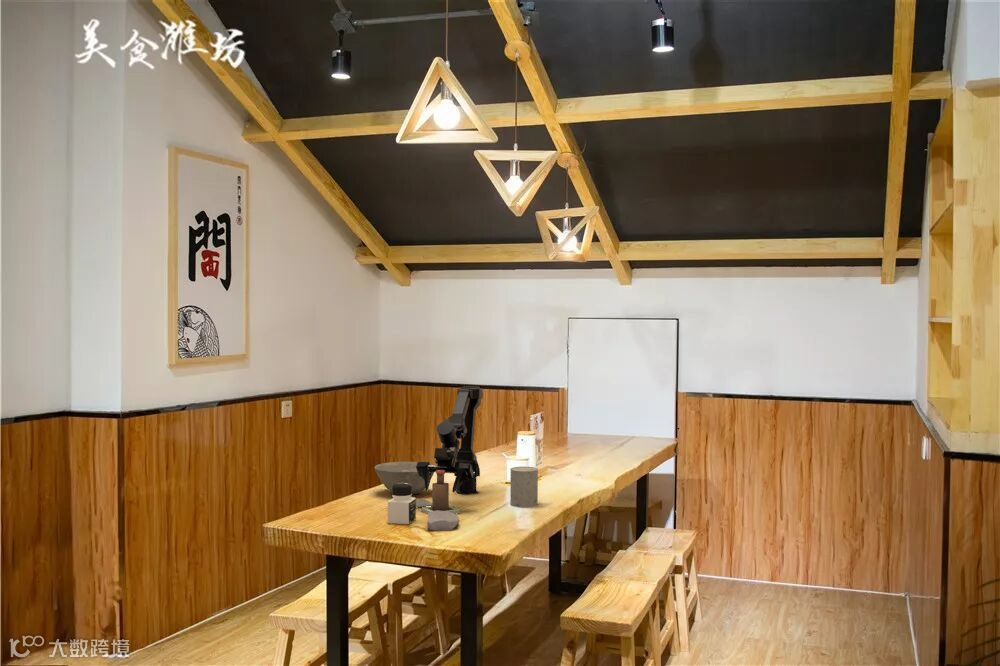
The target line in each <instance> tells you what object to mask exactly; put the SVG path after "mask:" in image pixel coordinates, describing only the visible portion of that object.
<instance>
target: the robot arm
mask: <svg viewBox="0 0 1000 666" xmlns="http://www.w3.org/2000/svg"><path fill="white" fill-rule="evenodd" d="M483 390H484V389H481V387H480V386H477V385H476V386H474V385H473V386H472V385H471V386H470V385H463V386H462V387H460V388H457V396H456V400H455V403H454V408H453V411H452V413H451V415H450V416H449V417H448V418H446V419H445V418H444V419H443V421H441V422H440V423H439V424H438V425H436V432H437V436H438V439H439V441H440V443H442V446H441V447H435V448H434V455H433V458H434V459H435V460H434V461H435V462H434V463H435V465H436V466H430V463H431V462H430V461H422V460H421V461H417V462H418V463H417V465H416V469H417V471H418V474H419V476H420V477H422V478H423V479H424V481H425V489H424V490H425V491H426V492H428V490H429V488H430V483H431V479H432V478H431V477H430V476H431V474H432V472H434V473H436V470H440V469H442V470H445V474H454V475H453V476H454V477H455V480H454V483H453V485H452V490H451V492H452V493H458V492H459V493H458V494H461V493H462V495H469V493H471V494H479V490H477V478H478V477H481V469H480V466H479V462H478V457H477V454H476V453H475V451H474V441H475V440H474V439H475V438H474V437H475V429H476V428H475V427H476V426H475V425H476V412H477V410H478V409H479V407H480V406H481V403H482V399H483V396H484V392H483Z"/></svg>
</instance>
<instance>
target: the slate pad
mask: <svg viewBox="0 0 1000 666" xmlns="http://www.w3.org/2000/svg"><path fill="white" fill-rule="evenodd" d="M426 506H432V501H429V500H426V499H416V507H426Z"/></svg>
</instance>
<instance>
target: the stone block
mask: <svg viewBox="0 0 1000 666" xmlns="http://www.w3.org/2000/svg"><path fill="white" fill-rule="evenodd" d="M459 522H460V518H459V516H458V514H454V513H452V512H446V511H439V510H436V511H431V512H429V513H428V514H427V530H428V531H429V532H437V531H438V532H439V531H443V532H444V531H445V532H447V531H452V530H454V529H455V528H457V526H458V525H459Z"/></svg>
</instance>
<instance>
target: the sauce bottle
mask: <svg viewBox="0 0 1000 666" xmlns="http://www.w3.org/2000/svg"><path fill="white" fill-rule="evenodd" d="M435 474H436V482H433V483H432V486H431V487H432V488H431V489H432V490H431V491H432V493H431V495H432V496H431V497H432V500H431V502H432V511H436V510H439V511H448V510H449V506H450V505H449V504H450V503H449V501H450V497H449V494H450V493H449V492H450V491H449V490H450V488H449V486H450V484H449V483H448V482H445V474H446V473H445V470H442V469H440V470H436V472H435Z"/></svg>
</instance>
